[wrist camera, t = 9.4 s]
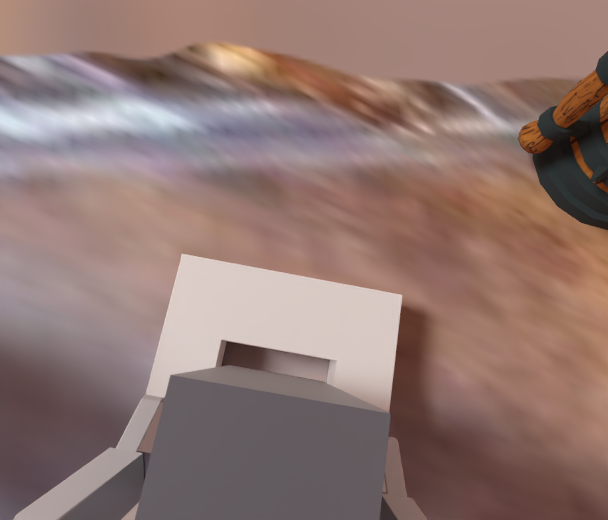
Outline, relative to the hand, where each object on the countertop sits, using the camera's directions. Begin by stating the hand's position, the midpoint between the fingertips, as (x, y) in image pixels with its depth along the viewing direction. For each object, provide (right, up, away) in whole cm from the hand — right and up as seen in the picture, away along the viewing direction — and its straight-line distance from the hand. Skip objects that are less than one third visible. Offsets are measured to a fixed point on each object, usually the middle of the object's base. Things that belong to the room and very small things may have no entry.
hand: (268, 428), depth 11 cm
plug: (-1, -2, +5) cm, 5 cm away
